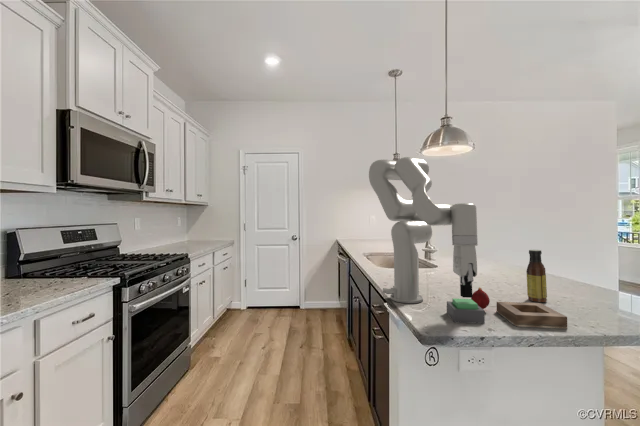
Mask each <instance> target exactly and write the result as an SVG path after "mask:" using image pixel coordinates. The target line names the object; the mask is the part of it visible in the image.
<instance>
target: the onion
mask: <svg viewBox="0 0 640 426" xmlns="http://www.w3.org/2000/svg"><path fill="white" fill-rule="evenodd" d="M470 299H472V300H473V301H474V302H475V303H477V304H478V306H479V307H481V308H482V309H483V310H485V309H486V308H487V307H488V306H489V305H490V302H491V301H490V297H489V295H488V294H487V292H486V291H484V290H483V289H482V287H478V289H477V290H475V291H474V292H472V298H470Z"/></svg>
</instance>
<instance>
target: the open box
mask: <svg viewBox="0 0 640 426" xmlns="http://www.w3.org/2000/svg"><path fill="white" fill-rule="evenodd" d="M496 313H498V314H499V315H500V316H502V317H503V318H504V319H506V320H507V321H509V323H511V324H512V323H513V325H514V326H515V327H520V328H521V327H522V328H542V329H545V328H546V329H563V330H564V329H567V330H568V316H566V315H565V314H563V313H560V312H559V311H556V310H554V309H553V308H552V307H549V306H548V305H547V306H546V305H545V304H543V303H542V302H523V301H522V302H520V301H519V302H517V301H512V302H511V301H496Z"/></svg>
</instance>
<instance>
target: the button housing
mask: <svg viewBox="0 0 640 426" xmlns="http://www.w3.org/2000/svg"><path fill="white" fill-rule="evenodd" d="M446 314H447V315H448V316H449V317H450V318H451V320H452V321H453V323H466V324H467V323H468V324H485V321H486V320H485V318H486V317H485V309H482V308H481V307H479V306H478V309H456V308H455V306H454V305H453V304H452V301H448V300H447V301H446Z"/></svg>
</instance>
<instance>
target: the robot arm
mask: <svg viewBox="0 0 640 426" xmlns="http://www.w3.org/2000/svg"><path fill="white" fill-rule="evenodd" d="M429 172H430V166H429V164H428V162H427V161H426V160H424V159H423V158H418V157H417V158H416V157H411V156H410V157H409V156H405V157H401V158H399V159H398V160H393V159H377V160H374V161H373V162H372V163H371V165H370V166H369V169H368V179H369V183H370V186H371V188H372V190H373V191H374V193H375V194H376V196H377V198H378V200H379V203H380V204H381V208H382V210H383V212H384V214H385V216H386V218H388V220H389V221H391V222H395V224H393V225H392V227H391V229H390V236H391V241H392V246H393V247H392V248H393V272H394V273H393V275H394V276H393V279H394V280H393V281H394V282H393V283H394V285H392V287H390V288H387V287H385V288H382V294H386V295H390V299H391V300H392V301H393V302H397V303H401V304H418V303H421V302H423V301H424V297H423V295H421V294H420V282H419V281H420V277H419V273H420V272H419V268H420V267H419V266H420V265H419V258H420V257H419V252H418V249H417V247H416V245H415V244H424V243H427V242H429V241H430V240H431V239H432V237H433V228H432V226H433V227H434V226H438V227H439V226H451V243H452V246H453V254H452V255H453V257H452V270H453V271H452V272H453V273H455V275H457V276H459V289H460V292H459V293H460V296H461V297H462V298H466V299H471V298H472V294H473V282H474V278H475V277H477V275H478V262H477V261H478V259H477V250H476V246H478V245H479V244H478V221H477V219H478V217H477V206H476V204H474V203H471V202H467V203H466V202H462V203H455V204H451V203H450V204H449V203H434V202H433V201H432V199H431V198H430V197H429V195H428V194H427V192H428V191H429V190H430V189H431V187H432V185H433V182H432V179H431V178H430V177H429V176H428V175H429ZM391 180H392V181H401V182H402V183H403V184H404V185H405V186H406V188H407V190H409V192H410V193H411V197H410V198H411V199H410V198H403V197H401V195H400V194H399V192H398V190H397V188H396V186H395V185H394V184H393V183H392V182H390V181H391Z"/></svg>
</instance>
